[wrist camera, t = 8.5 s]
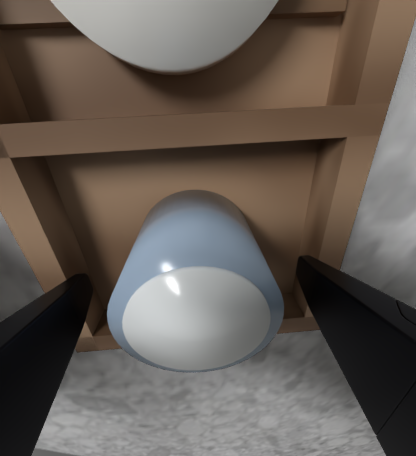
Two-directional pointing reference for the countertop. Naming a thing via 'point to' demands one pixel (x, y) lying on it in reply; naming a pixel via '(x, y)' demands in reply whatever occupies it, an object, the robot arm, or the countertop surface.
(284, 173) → the rack
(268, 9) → the white smooth oval
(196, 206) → the white-capped blue cylinder
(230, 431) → the countertop surface
